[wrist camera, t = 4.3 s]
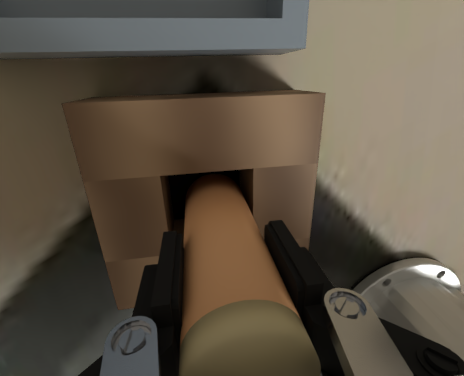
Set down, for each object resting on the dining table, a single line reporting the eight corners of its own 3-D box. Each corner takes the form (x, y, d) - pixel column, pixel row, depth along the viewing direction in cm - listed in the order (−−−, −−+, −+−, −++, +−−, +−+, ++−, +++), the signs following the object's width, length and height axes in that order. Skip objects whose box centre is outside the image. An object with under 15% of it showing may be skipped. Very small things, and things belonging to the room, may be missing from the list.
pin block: (294, 89, 16) (325, 93, 13) (284, 247, 21) (304, 282, 17) (92, 97, 15) (61, 103, 11) (130, 266, 19) (117, 310, 16)
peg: (241, 171, 16) (328, 322, 6) (242, 222, 17) (314, 414, 7) (182, 175, 16) (169, 348, 6) (188, 227, 17) (185, 441, 7)
